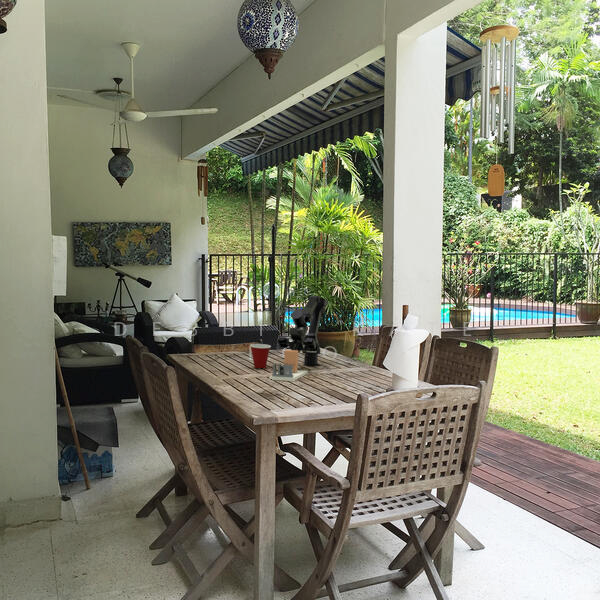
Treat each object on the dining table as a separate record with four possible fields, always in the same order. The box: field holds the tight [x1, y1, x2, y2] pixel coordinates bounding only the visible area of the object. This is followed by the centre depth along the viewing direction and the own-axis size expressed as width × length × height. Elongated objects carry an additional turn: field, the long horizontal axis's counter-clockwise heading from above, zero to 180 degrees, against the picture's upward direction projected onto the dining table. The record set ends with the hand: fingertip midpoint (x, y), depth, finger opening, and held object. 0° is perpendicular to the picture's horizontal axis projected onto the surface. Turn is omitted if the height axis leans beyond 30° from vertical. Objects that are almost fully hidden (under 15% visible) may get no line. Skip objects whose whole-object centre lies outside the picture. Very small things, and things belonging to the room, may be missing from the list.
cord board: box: [269, 369, 309, 382], centre depth 308 cm, size 20×12×2 cm, turn 161°
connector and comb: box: [271, 362, 293, 378], centre depth 302 cm, size 6×10×6 cm, turn 71°
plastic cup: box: [249, 343, 272, 369], centre depth 332 cm, size 11×11×12 cm
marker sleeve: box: [283, 349, 299, 372], centre depth 311 cm, size 3×6×10 cm, turn 71°
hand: (292, 356), depth 312 cm, fingers closed, pressing on marker sleeve
